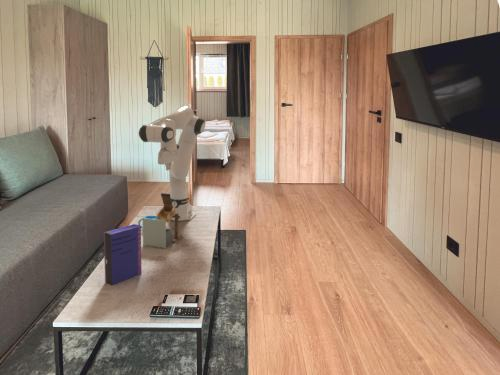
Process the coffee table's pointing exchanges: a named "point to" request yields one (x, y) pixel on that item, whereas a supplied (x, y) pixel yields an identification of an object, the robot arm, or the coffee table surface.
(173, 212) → the chute
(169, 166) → the robot arm
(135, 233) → the cereal box
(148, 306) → the coffee table surface
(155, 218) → the mug
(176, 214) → the stand
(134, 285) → the coffee table surface
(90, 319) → the coffee table surface
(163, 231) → the bin
